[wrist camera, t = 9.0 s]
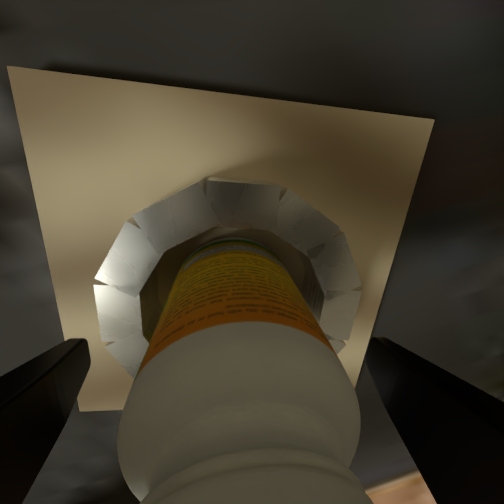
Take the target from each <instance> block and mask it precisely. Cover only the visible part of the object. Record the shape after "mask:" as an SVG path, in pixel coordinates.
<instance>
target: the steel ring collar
mask: <svg viewBox="0 0 504 504" xmlns="http://www.w3.org/2000/svg"><path fill="white" fill-rule="evenodd" d="M213 227H224V228H243V229H261V230H269V231H271V232H272V233H274V234H275V235H277V236H278V237H280V238H281V239H283V240H284V241H286V242H287V243H289V244H290V245H292V246H293V247H295V248H296V250H297V252H298V254H299V257H300V259H301V261H302V264H303V266H304V268H305V275H304V281H303V286H302V292H301V295H302V297H303V298H304V300H305V302H306V304H307V305H308V307H309V309H310V311H311V312H312V314H313V316H314V317H315V319H316V321H317V322H318V324H319V326H320V327H321V329H322V331H323V332H324V334H325V336H326V337H327V339H328V341H329V342H330V344H331V346H332V347H333V349H334V351H335V353H336V354H338V353H339V352H340V351H341V350H342V349H343V348H344V347H345V346H346V344H345V342H344V341H343V340H349V338H350V334H351V330H352V327H353V323H354V319H355V315H356V311H357V308H358V304H359V300H360V296H361V293H362V291H361V290H360V289H359V288H358V287H359V286H361V285H362V284H361V281H360V278H359V275H358V272H357V269H356V266H355V263H354V260H353V257H352V254H351V251H350V248H349V245H348V242H347V239H346V237H345V234H344V232H342V231H340V230H339V229H340V227H339V226H338V225H336V224H335V223H334V222H332V221H331V220H330V219H328V218H327V217H326V216H324V215H323V214H322V213H320V212H319V211H318V210H316V209H315V208H314V207H312V206H311V205H310V204H308V203H307V202H306V201H304V200H303V199H302V198H300V197H299V196H297V195H296V194H295V193H293V192H292V191H291V190H289V189H288V188H285V187H283V186H280V185H278V184H275V183H272V182H270V181H264V180H251V179H239V178H227V177H214V176H210V177H209V178H208V179H207V182H206V180H205V178H202V179H200V180H198V181H196V182H194V183H192V184H190V185H188V186H186V187H184V188H182V189H180V190H178V191H177V192H175V193H173V194H171V195H169V196H167V197H165V198H163V199H161V200H159V201H157V202H155V203H153V204H151V205H149V206H148V207H146V208H144V209H142V210H141V211H139V212H137V213H135V214H133V215H132V218H130V219H128V220H127V221H126V222H125V224H124V226H123V227H122V229H121V231H120V233H119V235H118V236H117V238H116V240H115V242H114V244H113V246H112V247H111V249H110V251H109V253H108V255H107V256H106V258H105V260H104V262H103V264H102V266H101V267H100V269H99V271H98V273H97V275H96V276H95V279H97V280H98V281H97V282H96V283H95V284H94V285H93V286H94V293H95V300H96V306H97V313H98V320H99V326H100V333H101V340H102V342H108V343H107V344H106V346H105V348H106V349H107V350H108V351H109V353H110V354H111V355H112V356H113V357H114V358H115V359H116V360H117V361H118V362H119V363H120V365H121V366H122V367H123V368H124V369H125V370H126V371H127V372H128V373H129V374H130V375H131V377H132V378H133V379H135V377H136V374H137V372H138V369H139V367H140V365H141V362H142V360H143V358H144V355H145V353H146V351H147V348H148V346H149V343H150V341H151V338H152V335H153V333H154V331H155V328H156V326H157V323H158V321H159V318H160V316H161V313H162V311H163V308H164V307H163V306H162V305H161V303H160V302H159V293H158V273H157V265H158V263H159V261H160V260H161V258H162V256H163V255H164V253H165V252H166V250H168V249H170V248H172V247H174V246H176V245H178V244H180V243H182V242H184V241H186V240H188V239H190V238H192V237H194V236H196V235H198V234H200V233H202V232H204V231H206V230H209V229H211V228H213Z"/></svg>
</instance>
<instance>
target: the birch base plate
mask: <svg viewBox="0 0 504 504" xmlns="http://www.w3.org/2000/svg"><path fill="white" fill-rule="evenodd" d="M7 69H8V74H9V79H10V83H11V88H12V93H13V98H14V102H15V107H16V112H17V117H18V121H19V126H20V131H21V135H22V140H23V145H24V150H25V154H26V159H27V164H28V169H29V173H30V178H31V183H32V187H33V192H34V197H35V202H36V206H37V211H38V216H39V221H40V225H41V230H42V235H43V239H44V244H45V249H46V254H47V258H48V263H49V268H50V272H51V277H52V282H53V287H54V291H55V296H56V301H57V306H58V310H59V315H60V320H61V324H62V329H63V334H64V339H65V341H66V340H68V339H70V338H85V339H86V340H87V341H88V346H89V351H90V357H91V365H90V369H89V371H88V374H87V376H86V378H85V380H84V383H83V385H82V387H81V390H80V392H79V394H78V397H77V400H78V405H79V410H80V411H102V410H123V409H124V406H125V403H126V400H127V397H128V395H129V392H130V389H131V387H132V384H133V382H134V379H133V378H132V377H131V375H130V374H129V373H128V372H127V371H126V370H125V369H124V368H123V367H122V366H121V365H120V363H119V362H118V361H117V360H116V359H115V358H114V357H113V356H112V355H111V354H110V353H109V351H108V350H107V349H106V348H105V346H106V344H107V343H108V342H102V340H101V333H100V326H99V320H98V313H97V306H96V300H95V293H94V286H93V285H94V284H95V283H96V282H97V281H98V280H97V279H95V276H96V275H97V273H98V271H99V269H100V267H101V266H102V264H103V262H104V260H105V258H106V256H107V255H108V253H109V251H110V249H111V247H112V246H113V244H114V242H115V240H116V238H117V236H118V235H119V233H120V231H121V229H122V227H123V226H124V224H125V222H126V221H127V220H128V219H130V218H132V215H133V214H135V213H137V212H139V211H141V210H142V209H144V208H146V207H148V206H149V205H151V204H153V203H155V202H157V201H159V200H161V199H163V198H165V197H167V196H169V195H171V194H173V193H175V192H177V191H178V190H180V189H182V188H184V187H186V186H188V185H190V184H192V183H194V182H196V181H198V180H200V179H202V178H205V180H206V182H207V179H208V178H209V177H210V176H214V177H227V178H239V179H251V180H264V181H270V182H272V183H275V184H278V185H280V186H283V187H285V188H288V189H289V190H291V191H292V192H293V193H295V194H296V195H297V196H299V197H300V198H302V199H303V200H304V201H306V202H307V203H308V204H310V205H311V206H312V207H314V208H315V209H316V210H318V211H319V212H320V213H322V214H323V215H324V216H326V217H327V218H328V219H330V220H331V221H332V222H334V223H335V224H336V225H338V226H339V227H340V229H339V230H340V231H342V232H344V234H345V237H346V239H347V242H348V245H349V248H350V251H351V254H352V257H353V260H354V263H355V266H356V269H357V272H358V275H359V278H360V281H361V284H362V285H361V286H359V287H358V288H359V289H360V290H361V291H362V293H361V296H360V300H359V304H358V308H357V311H356V315H355V319H354V323H353V327H352V330H351V334H350V338H349V340H343V341H344V342H345V344H346V346H345V347H344V348H343V349H342V350H341V351H340V352H339V353H338V354H337V356H338V358H339V360H340V361H341V363H342V365H343V367H344V369H345V371H346V373H347V375H348V377H349V379H350V381H351V383H352V385H353V387H354V389H355V386H356V383H357V379H358V376H359V373H360V369H361V366H362V363H363V359H364V356H365V352H366V349H367V346H368V342H369V339H370V336H371V332H372V329H373V326H374V322H375V319H376V315H377V312H378V309H379V305H380V302H381V299H382V295H383V292H384V289H385V285H386V282H387V279H388V275H389V272H390V268H391V265H392V262H393V258H394V255H395V252H396V248H397V245H398V242H399V238H400V235H401V232H402V228H403V225H404V221H405V218H406V215H407V211H408V208H409V205H410V201H411V198H412V195H413V191H414V188H415V184H416V181H417V178H418V174H419V171H420V168H421V164H422V161H423V158H424V154H425V151H426V148H427V144H428V141H429V137H430V134H431V131H432V127H433V124H434V121H435V120H434V119H426V118H418V117H410V116H402V115H394V114H386V113H378V112H371V111H363V110H355V109H347V108H339V107H331V106H323V105H315V104H307V103H299V102H291V101H283V100H275V99H267V98H259V97H251V96H244V95H236V94H228V93H220V92H212V91H204V90H196V89H188V88H180V87H172V86H164V85H156V84H148V83H140V82H132V81H124V80H117V79H109V78H101V77H93V76H85V75H77V74H69V73H61V72H53V71H45V70H37V69H29V68H21V67H13V66H7ZM228 237H240V238H247V239H251V240H254V241H256V242H259V243H261V244H263V245H264V246H266V247H267V248H269V249H270V250H271V251H273V252H274V253H275V254H276V255H277V256H278V258H279V259H280V260H281V262H282V263H283V264H284V266H285V267H286V269H287V271H288V273H289V274H290V276H291V278H292V280H293V281H294V283H295V285H296V286H297V288H298V290H299V292H300V293H301V292H302V286H303V281H304V275H305V268H304V266H303V264H302V261H301V259H300V257H299V254H298V252H297V250H296V248H295V247H293V246H292V245H290V244H289V243H287V242H286V241H284V240H283V239H281V238H280V237H278V236H277V235H275V234H274V233H272V232H271V231H269V230H261V229H243V228H224V227H213V228H211V229H209V230H206V231H204V232H202V233H200V234H198V235H196V236H194V237H192V238H190V239H188V240H186V241H184V242H182V243H180V244H178V245H176V246H174V247H172V248H170V249H168V250H166V252H165V253H164V255H163V256H162V258H161V260H160V261H159V263H158V265H157V273H158V293H159V302H160V303H161V305H162V306H163V307H164V306H165V304H166V301H167V298H168V296H169V294H170V291H171V288H172V286H173V283H174V281H175V278H176V276H177V274H178V272H179V270H180V268H181V266H182V264H183V263H184V261H185V260H186V259H187V258H188V257H189V255H190V254H192V253H193V252H194V251H195V250H196V249H198V248H199V247H201V246H202V245H204V244H206V243H208V242H211V241H214V240H217V239H221V238H228Z"/></svg>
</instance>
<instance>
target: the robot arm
mask: <svg viewBox="0 0 504 504" xmlns="http://www.w3.org/2000/svg"><path fill="white" fill-rule="evenodd" d="M365 362H366V365H367V367H368V370H369V372H370V374H371V376H372V379H373V381H374V383H375V386H376V388H377V390H378V393H379V395H380V397H381V399H382V402H383V404H384V406H385V408H386V410H387V412H388V414H389V416H390V418H391V420H392V422H393V423H394V425H395V427H396V429H397V431H398V433H399V434H400V436H401V438H402V440H403V442H404V444H405V446H406V447H407V449H408V451H409V453H410V455H411V457H412V458H413V460H414V462H415V464H416V466H417V468H418V470H419V471H420V473H421V475H422V477H423V479H424V481H425V482H426V484H427V486H428V488H429V490H430V492H431V494H432V495H433V497H434V499H435V501H436V503H437V504H504V402H502V401H500V400H498V399H497V398H495V397H493V396H491V395H489V394H487V393H486V392H484V391H482V390H480V389H478V388H477V387H475V386H473V385H471V384H469V383H467V382H466V381H464V380H462V379H460V378H458V377H456V376H455V375H453V374H451V373H449V372H447V371H445V370H444V369H442V368H440V367H438V366H436V365H435V364H433V363H431V362H429V361H427V360H425V359H424V358H422V357H420V356H418V355H416V354H414V353H413V352H411V351H409V350H407V349H405V348H403V347H402V346H400V345H398V344H396V343H394V342H392V341H391V340H389V339H387V338H385V337H372V338H371V339H370V340H369V344H368V347H367V350H366V354H365ZM90 365H91V357H90V351H89V346H88V341H87V340H86V339H85V338H70V339H68V340H66V341H64V342H62V343H61V344H59V345H57V346H55V347H53V348H52V349H50V350H48V351H46V352H44V353H42V354H41V355H39V356H37V357H35V358H33V359H32V360H30V361H28V362H26V363H24V364H23V365H21V366H19V367H17V368H15V369H14V370H12V371H10V372H8V373H6V374H4V375H3V376H1V377H0V504H22V503H23V501H24V499H25V497H26V495H27V493H28V492H29V490H30V488H31V486H32V484H33V482H34V481H35V479H36V477H37V475H38V473H39V472H40V470H41V468H42V466H43V464H44V462H45V461H46V459H47V457H48V455H49V453H50V452H51V450H52V448H53V446H54V444H55V442H56V441H57V439H58V437H59V435H60V433H61V431H62V429H63V428H64V426H65V424H66V421H67V419H68V417H69V415H70V413H71V410H72V408H73V406H74V404H75V401H76V399H77V397H78V394H79V392H80V390H81V387H82V385H83V383H84V380H85V378H86V376H87V374H88V371H89V369H90Z"/></svg>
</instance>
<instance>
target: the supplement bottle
mask: <svg viewBox="0 0 504 504" xmlns="http://www.w3.org/2000/svg"><path fill="white" fill-rule="evenodd" d="M360 428H361V419H360V409H359V404H358V399H357V396H356V393H355V390H354V387H353V385H352V383H351V381H350V379H349V377H348V375H347V373H346V371H345V369H344V367H343V365H342V363H341V361H340V360H339V358H338V356H337V354H336V353H335V351H334V349H333V347H332V346H331V344H330V342H329V341H328V339H327V337H326V336H325V334H324V332H323V331H322V329H321V327H320V326H319V324H318V322H317V321H316V319H315V317H314V316H313V314H312V312H311V311H310V309H309V307H308V305H307V304H306V302H305V300H304V298H303V297H302V295H301V293H300V292H299V290H298V288H297V286H296V285H295V283H294V281H293V280H292V278H291V276H290V274H289V273H288V271H287V269H286V267H285V266H284V264H283V263H282V262H281V260H280V259H279V258H278V256H277V255H276V254H275V253H274V252H273V251H271V250H270V249H269V248H267V247H266V246H264V245H263V244H261V243H259V242H256V241H254V240H251V239H247V238H240V237H228V238H221V239H217V240H214V241H211V242H208V243H206V244H204V245H202V246H201V247H199V248H198V249H196V250H195V251H194V252H193V253H192V254H190V255H189V257H188V258H187V259H186V260H185V261H184V263H183V264H182V266H181V268H180V270H179V272H178V274H177V276H176V278H175V281H174V283H173V286H172V288H171V291H170V294H169V296H168V298H167V301H166V304H165V306H164V308H163V311H162V313H161V316H160V318H159V321H158V323H157V326H156V328H155V331H154V333H153V335H152V338H151V341H150V343H149V346H148V348H147V351H146V353H145V355H144V358H143V360H142V362H141V365H140V367H139V369H138V372H137V374H136V377H135V379H134V382H133V384H132V387H131V389H130V392H129V395H128V397H127V400H126V403H125V406H124V409H123V412H122V414H121V418H120V423H119V428H118V436H117V452H118V459H119V464H120V468H121V471H122V474H123V477H124V479H125V481H126V483H127V485H128V487H129V489H130V490H131V491H132V493H133V494H134V495H135V496H136V498H137V499H138V500H139V501H140V503H139V504H373V502H372V501H371V499H370V498H369V497H368V495H367V494H366V493H365V490H364V488H363V486H362V484H361V482H360V480H359V479H358V478H357V477H356V475H355V474H354V473H353V472H352V471H351V470H350V469H349V466H350V465H351V462H352V460H353V458H354V455H355V453H356V449H357V446H358V442H359V437H360Z"/></svg>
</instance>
